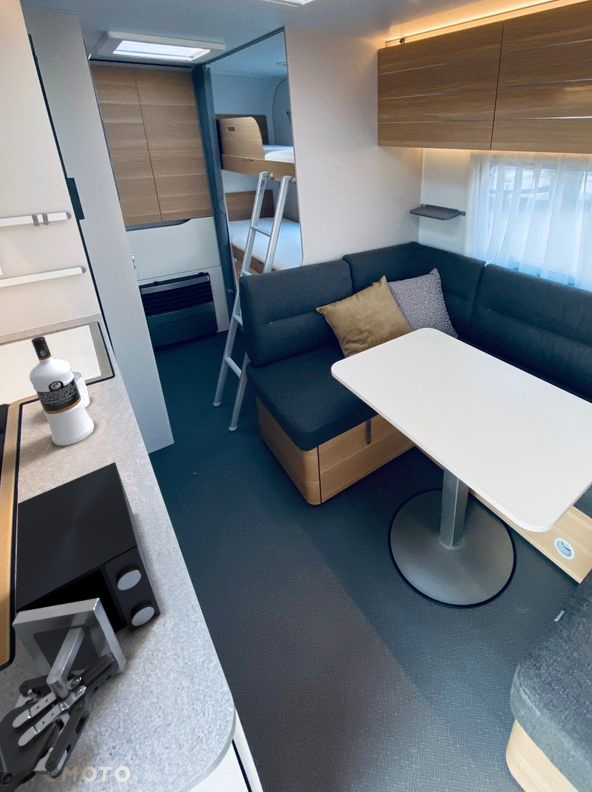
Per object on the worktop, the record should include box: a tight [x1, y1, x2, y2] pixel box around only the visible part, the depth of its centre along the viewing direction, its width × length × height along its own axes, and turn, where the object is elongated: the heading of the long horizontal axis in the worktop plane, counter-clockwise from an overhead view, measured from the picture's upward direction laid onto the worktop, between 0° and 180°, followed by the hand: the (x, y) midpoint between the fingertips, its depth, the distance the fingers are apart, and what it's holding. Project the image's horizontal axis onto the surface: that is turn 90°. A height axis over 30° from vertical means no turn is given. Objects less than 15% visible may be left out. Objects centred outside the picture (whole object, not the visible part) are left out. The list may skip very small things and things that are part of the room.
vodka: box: [29, 335, 95, 447], centre depth 105 cm, size 9×9×30 cm
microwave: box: [14, 461, 162, 635], centre depth 70 cm, size 24×15×16 cm, turn 38°
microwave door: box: [11, 598, 127, 703], centre depth 56 cm, size 8×10×16 cm
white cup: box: [72, 371, 91, 408], centre depth 120 cm, size 8×8×10 cm
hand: (115, 659), depth 57 cm, fingers closed
